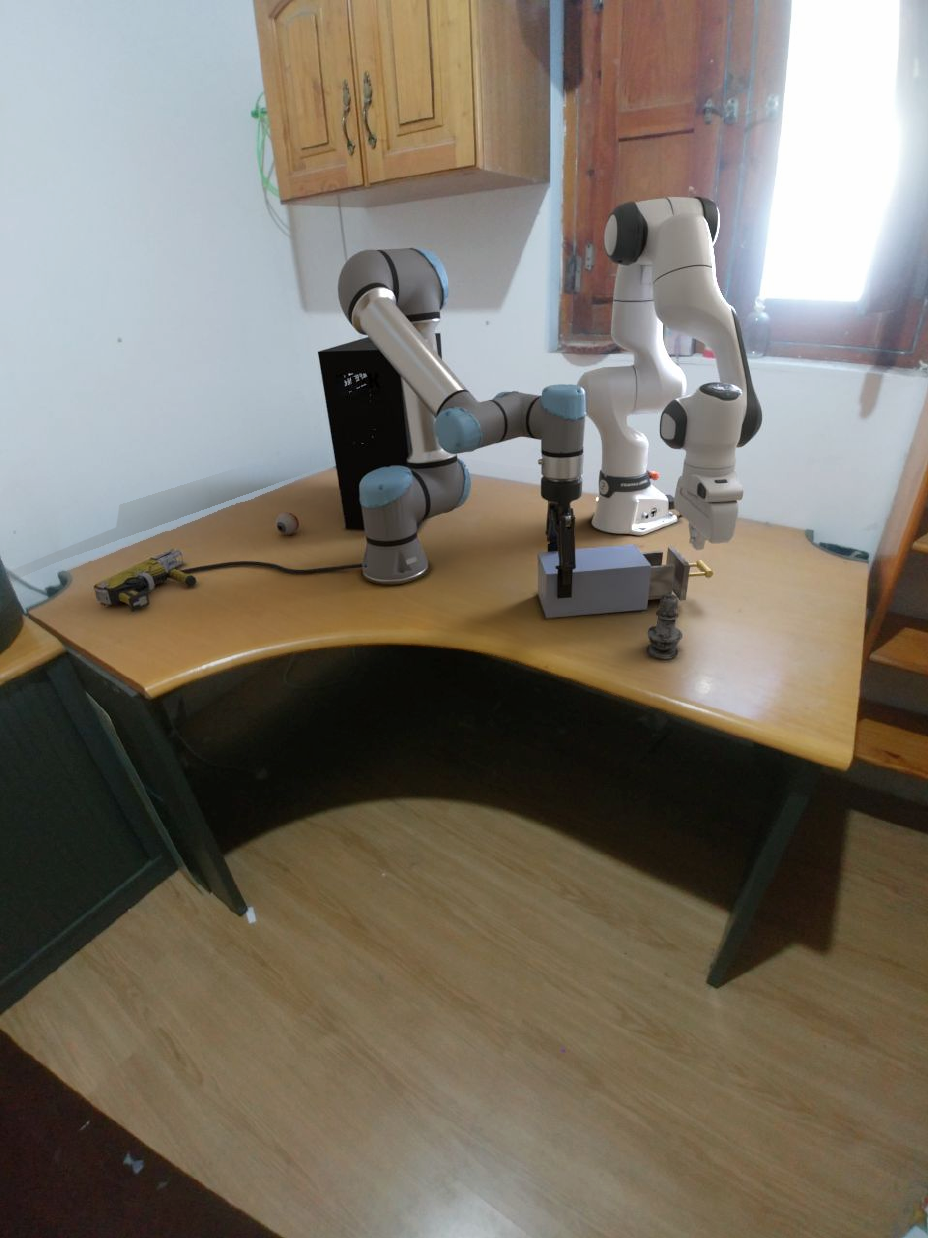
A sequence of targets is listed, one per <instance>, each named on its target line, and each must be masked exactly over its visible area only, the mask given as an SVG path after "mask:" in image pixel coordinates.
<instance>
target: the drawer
mask: <svg viewBox="0 0 928 1238" xmlns="http://www.w3.org/2000/svg"><path fill="white" fill-rule="evenodd" d="M641 553H642V554H643V555H644V557H645V558H646V559H647V561H648V562H649V563H650V565H651V574H650V584H649V594H648V601H651V600H660V599H661V597H662V596H663V595H665V594H669V593H668V592H669V591H670V590H671V591H672V593H673V595H675V596H676V597H677V598H678V601H680V602H683V601H687V594H688V588H689V587H688V586H689V579H690V578H692V577H705V578H707V579H709V578H712V577H713V576H714V572H713V570H711V568H710V567H709V566H708V565H707V564H706V563H705V562H704V561H703V560H701V559H698V560H697V561H695V562H691V563H689V562H688V560H686V559H685V557H683V556H682V554H681V553H680V552H679V550H677V549H676V547H674V546H668V547H667V552H666V561H665V564H663V558H664V552H663V550H655V551H643V552H642V551H641ZM694 567H695V568H697V569H698V570H699V571H696V572H690V571H691V568H694Z"/></svg>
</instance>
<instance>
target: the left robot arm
mask: <svg viewBox="0 0 928 1238" xmlns="http://www.w3.org/2000/svg"><path fill="white" fill-rule="evenodd" d="M337 296H338V297H337V298H338V301H339V305H340V308H341V310H342V312H343V314H344V316H345V318H346V319H347V321H348V322H349V323H350V325H351V326H352V327H353V328H354V331H356V332H357V333H358V334H360V335H363V336H366V337H369V338H370V339H371V340H372V342H373V343H374V344H375V345H376V347H377V348H378V349H379V350H380V351H381V353H382V354H383V355H384V356H385V357H386V359H387V360H388V361H389V362H390V363H391V365H392V366H393V367H394V368H395V370H396V371H397V372H398V373H399V374H400V376H401V382H402V389H403V395H404V402H405V409H406V415H407V422H408V428H409V435H410V441H411V448H412V451H411V453H410V455H409V456H408V457H407V466H408V468H407V467H404V466H390V467H383V468H379V469H376V470H374V471H372V472H370V473H368V474H367V475H365V476H364V477H363V478H362V480H361V482H360V485H359V490H360V503H361V507H362V514H363V520H364V527H365V529H364V534H365V540H366V545H365V551H364V555H363V561H362V563H356V564H355V563H354V564H343V565H337V566H328V567H327V566H326V567H319V568H308V569H297V568H296V569H295V568H288V567H285V566H282V565H279V564H276V563H271V562H264V561H255V560H240V561H239V560H238V561H227V562H220V563H213V564H207V565H202V566H201V565H200V566H196V567H195V566H194V567H190V568H189V567H188V568H184V569H178V571H181V572H183V573H185V574H188V573H193V572H199V571H204V570H205V571H206V570H211V569H217V568H224V567H231V566H260V567H268V568H272V569H273V568H274V569H276V570H279V571H282V572H285V573H289V574H297V575H298V574H299V575H300V574H302V575H303V574H314V573H323V572H333V571H343V570H351V569H362V574H363V575H362V576H363V578H364V579H365V580H366V581H368V582H370V583H373V584H376V585H381V586H399V585H404V584H409V583H412V582H415V581H417V580H419V579H421V578H422V577H424V576H425V575H426V574H427V573H428V571H429V560H428V558H427V555H426V554H425V551H424V549H423V547H422V544H421V542H420V540H419V538H418V537H419V536H418V529H417V526H416V523H417V522H419V521H422V520H424V521H425V520H428V519H430V518H433V517H436V516H439V515H442V514H447V513H450V512H452V511H454V510H455V509H458V508H460V507H462V506H463V505H464V504H465V503H466V501H467V500H468V498H469V496H470V493H471V487H472V485H471V484H472V480H471V474H470V471H469V468H467V465H466V463H465V462H464V461H463V460H462V459H460V458H458V454H464V453H471V452H474V451H477V450H478V449H481V448H484V447H485V448H486V447H489V446H491V445H495V444H496V445H497V444H500V443H503V442H507V441H511V440H514V439H517V438H527V439H533V440H538V441H540V454H541V455H540V456H541V458H539V459H538V460H537V464H538V465H540V466H541V470H540V472H541V476H542V477H541V478H540V496H541V498H542V499H543V500H545V501H546V502H547V514H546V525H545V526H546V527H545V532H544V533H545V536H546V541H547V545H546V547H547V550H546V552H551V551H558V556H559V566H555V568H556V569H558V573H557V598H571V597H572V573H573V569H575V568H576V560H575V549H576V529H575V526H576V516H575V514H574V508H573V507H571V503H572V502H574V501H577V500H579V499H580V498H581V497H582V495H583V477H582V475H583V474H584V457H585V451H584V448H585V447H584V441H585V439H584V438H585V427H586V417H587V416H586V406H585V391H584V389H583V388H582V387H581V386H578V385H577V384H573V383H571V384H570V383H569V384H566V383H565V384H563V383H560V384H559V383H558V384H552V385H548V386H545V387H544V388H543V389H542V391H541V395H539V394H534V393H533V394H531V393H525V392H519V391H516V390H513V391H501V392H498V393H497V394H496V395H495V396H494V397H493V398H492V399H487V400H484V401H483V400H482V401H478V400H477V399H476V397H475V396H474V395H473V394H472V393H471V392H470V391H469V389H467V387H466V385H464V384H463V382H462V381H461V380H460V379H459V378H458V377H457V376H456V374H455V373H454V371H452V370H451V368H450V367H449V366H448V365H447V364H446V362H445V361H444V360H443V358H442V359H441V358H440V357H439V355H438V352H437V344H436V336H435V333H436V329H437V327H438V326H439V324H440V322H441V321H442V318H441V310H443V309H444V308H445V306H446V304H447V303H448V298H449V296H450V285H449V277H448V275H447V272H446V269H445V267H444V264H443V263H442V261H441V259H440V258H439V257H437V256H436V254H435V253H434V252H432V251H430V250H429V249H425V248H415V247H407V248H405V247H404V248H387V249H364V250H360V251H358V252H356V253H355V254H353V255H352V256H350V257H349V258H348V259H347V260H346V262H345V263H344V265H343V266H342V268H341V270H340V273H339V276H338V281H337Z"/></svg>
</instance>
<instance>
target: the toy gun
mask: <svg viewBox="0 0 928 1238" xmlns="http://www.w3.org/2000/svg"><path fill="white" fill-rule="evenodd" d="M179 557H181V560H177V558H179ZM183 564H184V558H183V552H182V551H181V550H179V549H174V548H171V549H169V550H167V551H164V552H163V553H161V554H159V555H156V556H155V557H150V558H148V559H146V560H144V561H142V562H139V563H138V564H135V565H133V566H131V567H129V568H127V569H125V570H122V571H120V572H118V573H116V574H113V575H112V576H110V577H108V578H106V579H104V580H101V581H99V582H97V583H95V584H93V590H94V594H95V598H96V600H97V603H99V604H100V605H101V606H105V607H107V606H117V605H121V604H127V605H128V606H129V607H130V611H131V612H136V611H138V610H141V609H143V608H145V607H147V606H148V607H149V606H150V599H149V595H148V593H149V592H151V591H154V590H155V586H156V585H159V584H161V583H164V582H165V581H168V579H171V580H174V581H177V582H178V583H182V584H183V585H184V584H185V585H186V586H187V587H193V586H195V585H196V584H197V578H196V576H194V575H192V574H188V573H183V572H181V571H179V569H176V568H177V567H180V565H183Z"/></svg>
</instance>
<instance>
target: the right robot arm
mask: <svg viewBox="0 0 928 1238" xmlns="http://www.w3.org/2000/svg"><path fill="white" fill-rule="evenodd" d="M720 219H721V217H720V211H719V207H718V205H717V203H716V202H715V201H714V200H713V199H710V198H707V197H704V196H694V197H686V196H665V197H662V198H653V199H647V200H642V201H638V202H637V201H636V202H635V201H627V202H625V203H621V204H618V205H616V206H615V207H614V208H613V209H612V211H611V212H610V214H609V215H608V218H607V221H606V224H605V229H604V236H603V237H604V239H603V240H604V250H605V254H606V256H607V258H608V259H609V260H610V262H612V263H614V264H616V265H617V269H616V275H615V281H614V288H613V297H612V299H613V300H612V309H611V311H612V312H611V322H610V323H611V324H610V337H611V340H612V341H613V342H614V344H615V345H617V346H618V347H620V348H621V349H623V350H624V351H627V352H629V353H631V354H632V355H633V364H631V365H621V366H620V365H619V366H604V367H599V368H596V369H592V370H589V371H585V372H584V373H583V374H582V375H581V376H580V378H578V381H577V383H576V385H578V386H581V387H582V388H583V389H584V391H585V406H586V417H588V418H589V419H590V420H591V421H592V422H593V424H594V426H595V427H596V429H597V431H598V434H599V436H600V437H599V438H600V441H601V442H600V443H601V468H600V470H599V474H598V492H599V493H598V496H597V497H596V498H595V501H597V502H596V507H595V511H594V514H593V517H592V520H591V525H592V526H593V527H594V528H595V529H597V530H599V531H601V532H605V533H611V534H623V535H625V534H626V535H632V536H633V535H634V536H645V535H646V534H650V533H652V532H654V531H657V530H660V529H662V528H665V527H668V526H670V525H672V524H675V523H677V522H678V516H677V515H676V514H675V513H674V512H672V511H670V510H675V511H676V512H678V513H679V515H680V516H682V517H683V518H684V519H685V520H686V521H687V522H688V531H689V544H690V545H691V546H692V548H693V549H694V550H696V551H702V550H704V548H705V543H706V541H708V542H709V544H712V545H717V544H728V543H729V542H730V541H731V540H732V539H733V537H734V534H735V530H736V525H737V521H738V516H739V502H738V501H741V500H743V497H744V491H745V490H744V487H743V486H742V484H741V483H740V481H739V479H738V476H737V473H736V471H735V470H736V469H735V468H736V463H737V459H736V449H737V448H738V449H739V448H743V447H745V446H746V445H747V444H748V443H749V442H750V441H751V440H753V438H754V437H755V436H756V435H757V433H758V432H759V431H760V428H761V427H762V424H763V410H762V406H761V403H760V400H759V398H758V395H757V393H756V391H755V388H754V384H753V380H752V375H751V374H752V373H751V370H750V365H749V361H748V355H747V351H746V347H745V346H746V345H745V342H744V341H745V340H744V336H743V333H742V328H741V324H740V319H739V316H738V314H737V311H736V310H735V308H734V307H733V306H732V305H730V304H729V303H728V302H727V301H726V300H725V298H724V297H723V294H722V293H721V290H720V287H719V285H718V282H717V276H716V262H715V254H714V247H713V246H714V245H715V243H716V242H717V238H718V235H719V232H720V231H719V230H720V226H721V225H720V223H721V220H720ZM663 327H665V328H667V329H669V330H670V331H672V332H673V333H676V334H679V335H682V336H686V337H689V338H692V339H694V340H696V341H698V342H700V343H702V344H703V345H705V346H706V347H708V348H709V350H710V351H711V352H712V354H713V356H714V359H715V363H716V368H717V372H718V376H719V381H720V382H719V381H714V382H713V381H712V382H706V383H704V384H701V385H700V386H698V387H697V388H696V390H695V392H694V393H692V394H689V395H686V393H687V379H686V375H685V373H684V372H683V370H682V369H681V368H680V367H679V366H678V365H676V363H675V362H674V361H673V360H672V359H671V358H670V356H669V354H668V352H667V350H666V347H665V343H664V337H663V336H664V335H663V330H664V329H663ZM660 413H661V415H660V419H659V437H660V439H661V440H662V442H664V443H665V445H666V446H668V447H669V448H670V449H673V450H680V451H681V450H683V451H685V456H684V460H683V466H682V472H681V475H680V476H679V477H678V479H677V482H676V487H675V492H674V496H673V495H671V494H664V493H663V492H661V491H660V490H659V489H658V488H656V487H655V486H654V485H652V483H651V480H653V481H658V479H659V478H660V473H659V472H657V471H654V470H651V471H649V470H648V469H647V466H648V458H649V457H648V455H649V446H650V443H649V440H648V438H647V437H646V435H645V434H644V433H643V432H641V431H639V430H638V429H636V428H633V427H631V426H629V425H628V422H627V421H628V417H629V416H634V415H651V414H652V415H653V414H660Z"/></svg>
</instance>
